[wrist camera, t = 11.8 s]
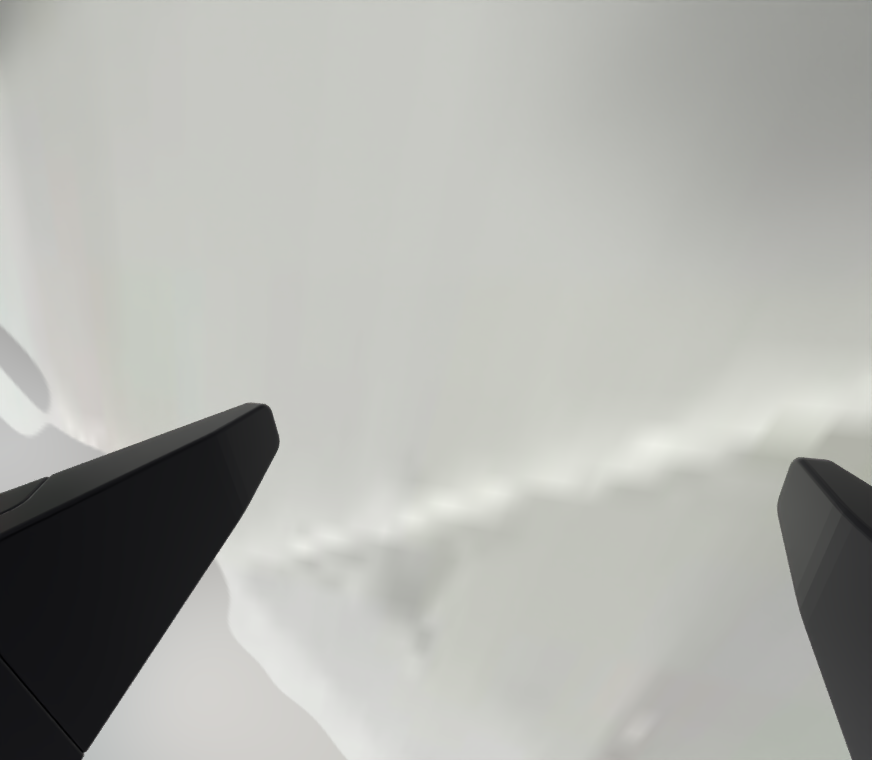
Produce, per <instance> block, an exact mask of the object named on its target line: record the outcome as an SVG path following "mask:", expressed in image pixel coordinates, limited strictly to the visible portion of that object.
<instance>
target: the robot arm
mask: <svg viewBox="0 0 872 760" xmlns="http://www.w3.org/2000/svg"><path fill="white" fill-rule="evenodd" d="M279 442H280V440H279V434H278V431H277V427H276V424H275V420H274V417H273V413H272V410H271V409H270V407H269V406H268V405H266V404H260V403H245V404H243V405H240V406H237V407H234V408H232V409H229V410H226V411H224V412H221V413H218V414H215V415H213V416H210V417H207V418H205V419H202V420H199V421H196V422H194V423H191V424H188V425H186V426H183V427H180V428H177V429H175V430H172V431H169V432H167V433H164V434H161V435H158V436H156V437H153V438H150V439H148V440H145V441H142V442H139V443H137V444H134V445H131V446H128V447H126V448H123V449H120V450H118V451H115V452H112V453H109V454H107V455H104V456H101V457H99V458H96V459H93V460H91V461H88V462H85V463H82V464H80V465H77V466H74V467H72V468H69V469H66V470H63V471H61V472H58V473H55V474H53V475H51V476H50V477H44V478H41V479H39V480H36V481H33V482H30V483H28V484H25V485H22V486H19V487H17V488H14V489H11V490H8V491H6V492H3V493H0V760H82V759H83V757H84V752H86V751H87V750H88V749H89V747H90V746H91V744H92V743H93V741H94V740H95V738H96V737H97V735H98V734H99V732H100V731H101V729H102V728H103V726H104V725H105V723H106V722H107V720H108V718H109V717H110V715H111V714H112V712H113V711H114V709H115V708H116V706H117V705H118V703H119V702H120V700H121V699H122V697H123V696H124V694H125V693H126V691H127V690H128V688H129V687H130V685H131V684H132V682H133V681H134V679H135V678H136V676H137V675H138V673H139V672H140V670H141V669H142V667H143V666H144V664H145V663H146V661H147V660H148V658H149V656H150V655H151V653H152V652H153V650H154V649H155V647H156V646H157V644H158V643H159V641H160V640H161V638H162V637H163V635H164V634H165V632H166V631H167V629H168V628H169V626H170V625H171V623H172V622H173V620H174V619H175V617H176V615H177V614H178V613H179V611H180V609H181V608H182V607H183V605H184V604H185V602H186V601H187V599H188V597H189V596H190V595H191V593H192V591H193V590H194V588H195V587H196V585H197V584H198V582H199V581H200V579H201V578H202V576H203V575H204V573H205V572H206V570H207V569H208V567H209V566H210V564H211V563H212V561H213V560H214V558H215V557H216V555H217V554H218V552H219V551H220V549H221V548H222V546H223V545H224V543H225V542H226V540H227V539H228V537H229V536H230V534H231V533H232V531H233V529H234V528H235V526H236V525H237V523H238V522H239V520H240V519H241V517H242V516H243V514H244V512H245V511H246V509H247V507H248V505H249V503H250V502H251V500H252V498H253V496H254V494H255V492H256V490H257V488H258V486H259V485H260V483H261V481H262V479H263V477H264V475H265V473H266V471H267V469H268V468H269V466H270V464H271V462H272V460H273V458H274V456H275V454H276V452H277V450H278V448H279ZM777 512H778V518H779V523H780V527H781V532H782V536H783V541H784V545H785V550H786V554H787V559H788V563H789V568H790V572H791V577H792V581H793V586H794V590H795V595H796V599H797V603H798V607H799V611H800V614H801V617H802V620H803V623H804V626H805V629H806V632H807V635H808V637H809V640H810V643H811V646H812V649H813V651H814V654H815V657H816V660H817V663H818V665H819V668H820V671H821V674H822V677H823V680H824V682H825V685H826V688H827V691H828V694H829V696H830V699H831V702H832V705H833V708H834V710H835V713H836V716H837V719H838V722H839V724H840V727H841V730H842V733H843V736H844V739H845V741H846V744H847V747H848V750H849V753H850V755H851V758H852V760H872V486H871V485H869V484H867V483H866V482H864V481H863V480H861V479H859V478H858V477H856V476H855V475H853V474H851V473H850V472H848V471H846V470H845V469H843V468H842V467H840V466H838V465H837V464H835V463H834V462H832V461H829V460H825V459H814V458H804V457H798V458H796V459H794V460H793V462H792V463H791V465H790V467H789V470H788V473H787V475H786V478H785V481H784V484H783V487H782V490H781V493H780V495H779V499H778V504H777Z"/></svg>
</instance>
